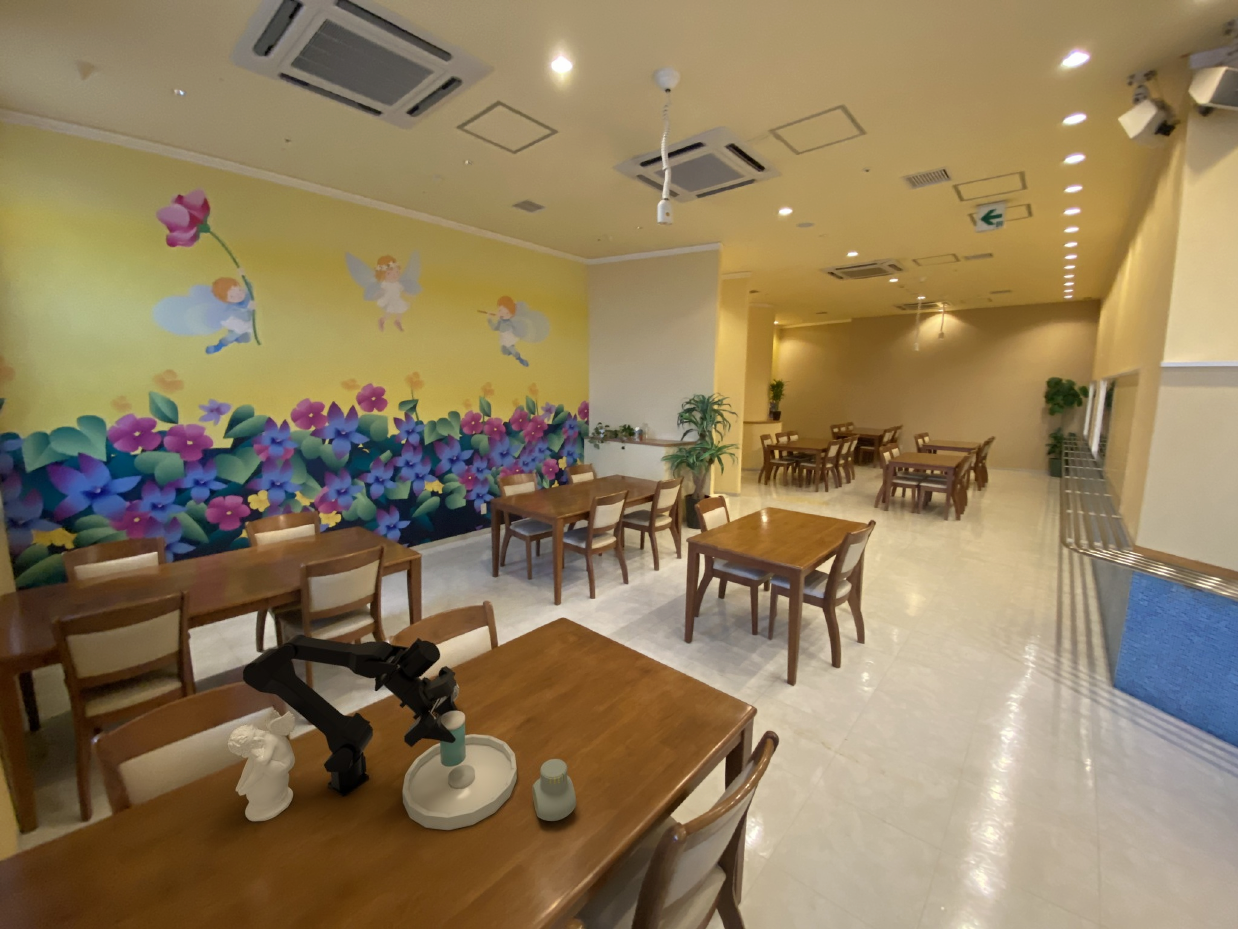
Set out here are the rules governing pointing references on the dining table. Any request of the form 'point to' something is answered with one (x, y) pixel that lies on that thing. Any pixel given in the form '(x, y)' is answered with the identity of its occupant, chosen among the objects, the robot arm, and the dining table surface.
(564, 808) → the air freshener
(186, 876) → the dining table surface
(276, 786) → the cherub figurine
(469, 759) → the groove tray
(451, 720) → the bead jar
